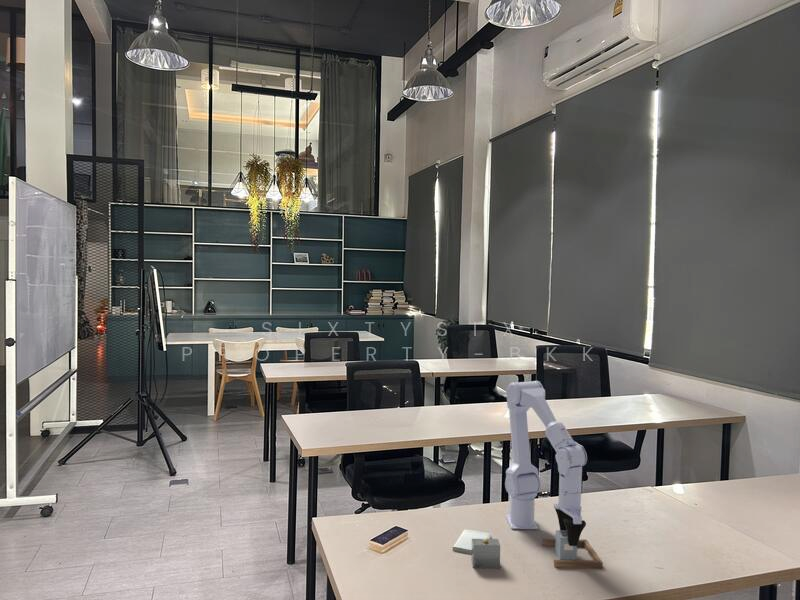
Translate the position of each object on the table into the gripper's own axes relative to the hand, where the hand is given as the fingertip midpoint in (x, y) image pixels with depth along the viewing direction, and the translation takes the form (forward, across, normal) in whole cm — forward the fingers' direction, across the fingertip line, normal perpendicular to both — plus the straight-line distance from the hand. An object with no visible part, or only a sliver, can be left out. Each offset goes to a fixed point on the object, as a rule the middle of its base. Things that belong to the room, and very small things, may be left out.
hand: (568, 538), depth 154 cm
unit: (+5, +6, -23) cm, 25 cm away
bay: (+5, 0, +1) cm, 5 cm away
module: (+5, 0, -1) cm, 5 cm away
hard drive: (+6, -6, -25) cm, 27 cm away
